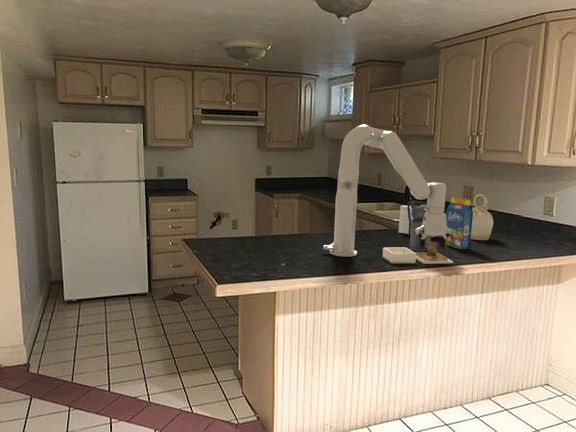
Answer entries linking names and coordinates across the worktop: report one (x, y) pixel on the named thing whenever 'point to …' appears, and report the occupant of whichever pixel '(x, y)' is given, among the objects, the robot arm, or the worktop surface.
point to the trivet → (432, 261)
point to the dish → (399, 255)
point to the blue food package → (459, 223)
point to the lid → (431, 253)
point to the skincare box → (405, 220)
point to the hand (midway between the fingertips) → (432, 247)
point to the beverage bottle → (416, 225)
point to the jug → (481, 220)
